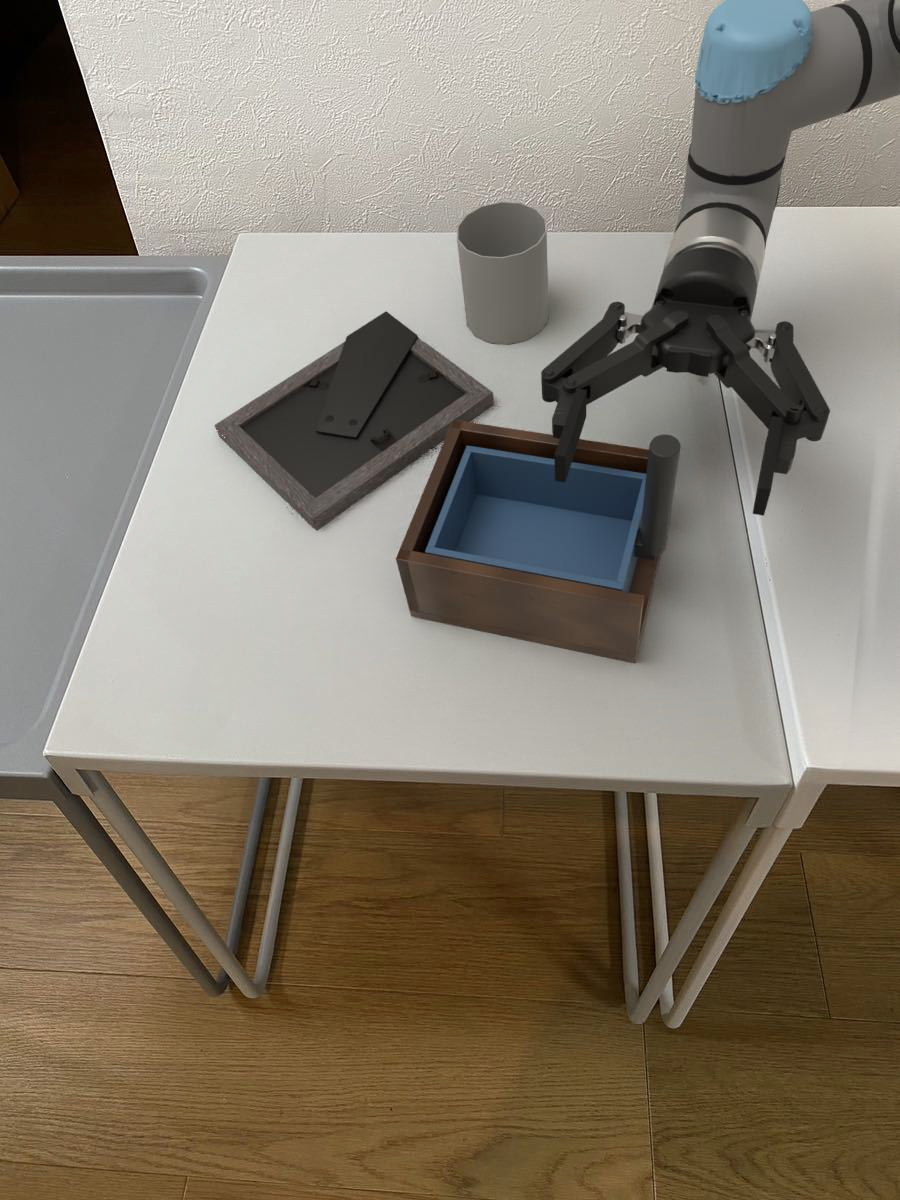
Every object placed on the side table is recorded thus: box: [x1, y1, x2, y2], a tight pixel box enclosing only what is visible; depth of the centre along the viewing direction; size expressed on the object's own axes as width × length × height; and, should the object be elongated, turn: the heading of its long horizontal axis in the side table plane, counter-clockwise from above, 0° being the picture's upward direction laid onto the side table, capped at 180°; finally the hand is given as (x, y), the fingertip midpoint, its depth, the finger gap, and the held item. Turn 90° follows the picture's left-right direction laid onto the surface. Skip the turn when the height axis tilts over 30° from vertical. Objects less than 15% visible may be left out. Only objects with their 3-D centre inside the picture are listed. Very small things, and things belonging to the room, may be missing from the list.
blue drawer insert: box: [425, 434, 681, 592], centre depth 69 cm, size 17×11×15 cm, turn 73°
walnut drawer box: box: [395, 420, 661, 664], centre depth 73 cm, size 18×14×8 cm
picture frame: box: [213, 310, 495, 531], centre depth 87 cm, size 16×2×21 cm
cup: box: [456, 201, 550, 346], centre depth 90 cm, size 8×8×10 cm
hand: (657, 485), depth 63 cm, fingers open, 13 cm apart
